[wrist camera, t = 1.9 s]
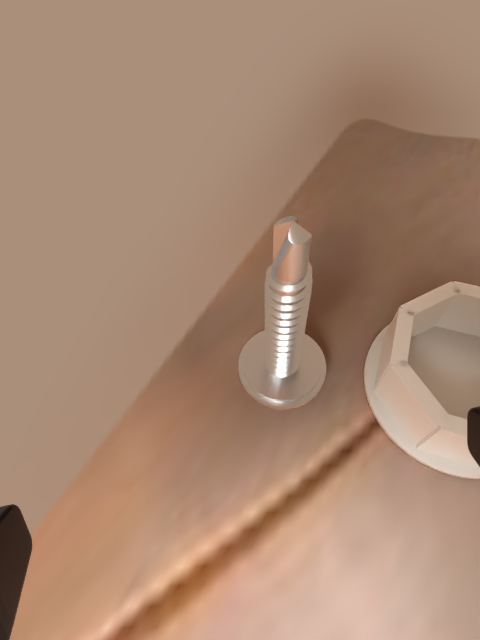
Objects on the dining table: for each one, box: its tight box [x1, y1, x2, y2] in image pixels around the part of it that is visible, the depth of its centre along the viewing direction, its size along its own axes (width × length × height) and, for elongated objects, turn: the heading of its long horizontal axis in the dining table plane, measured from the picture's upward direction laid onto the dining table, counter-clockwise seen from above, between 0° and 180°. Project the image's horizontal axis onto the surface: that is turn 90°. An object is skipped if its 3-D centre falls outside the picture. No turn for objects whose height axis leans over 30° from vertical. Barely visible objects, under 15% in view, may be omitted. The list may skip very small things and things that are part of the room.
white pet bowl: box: [363, 281, 480, 479], centre depth 21 cm, size 10×10×4 cm
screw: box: [238, 216, 327, 410], centre depth 18 cm, size 13×5×5 cm
